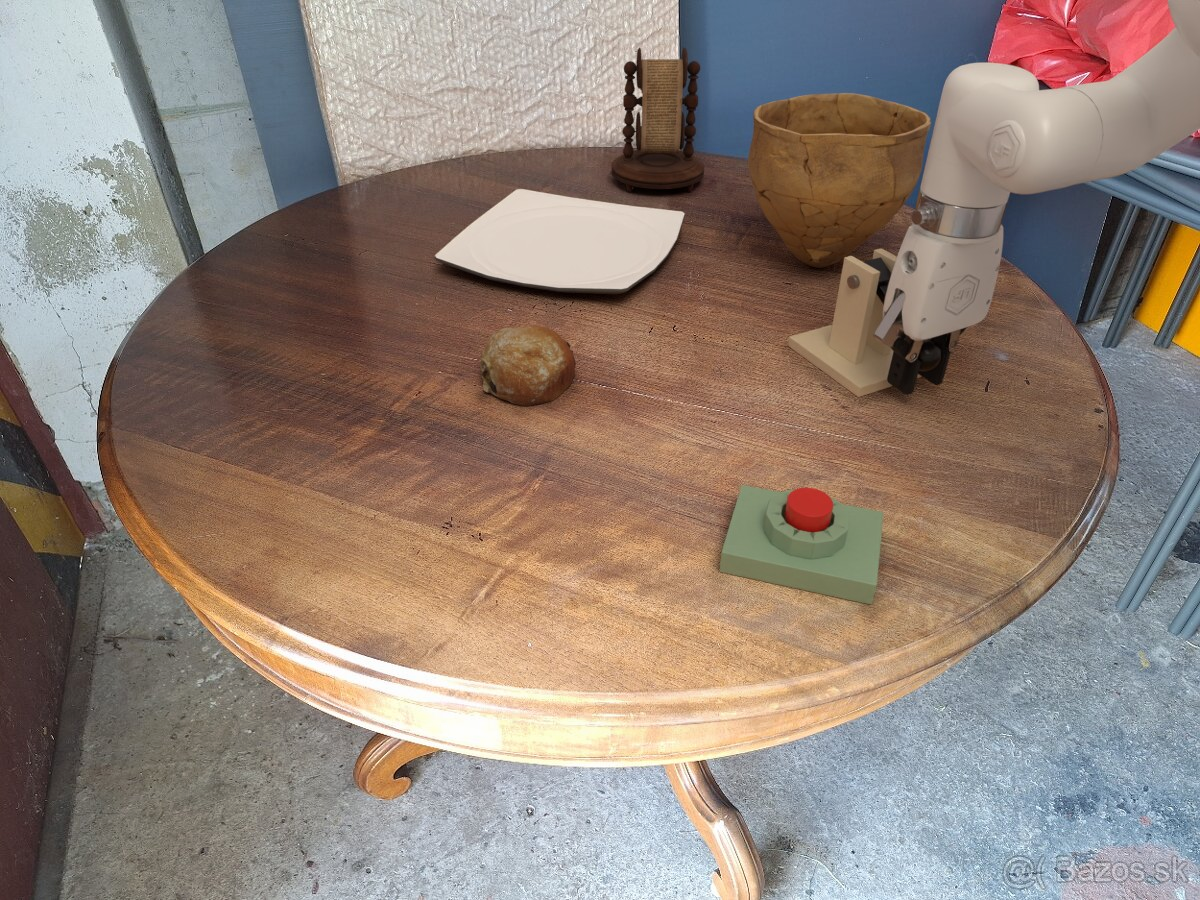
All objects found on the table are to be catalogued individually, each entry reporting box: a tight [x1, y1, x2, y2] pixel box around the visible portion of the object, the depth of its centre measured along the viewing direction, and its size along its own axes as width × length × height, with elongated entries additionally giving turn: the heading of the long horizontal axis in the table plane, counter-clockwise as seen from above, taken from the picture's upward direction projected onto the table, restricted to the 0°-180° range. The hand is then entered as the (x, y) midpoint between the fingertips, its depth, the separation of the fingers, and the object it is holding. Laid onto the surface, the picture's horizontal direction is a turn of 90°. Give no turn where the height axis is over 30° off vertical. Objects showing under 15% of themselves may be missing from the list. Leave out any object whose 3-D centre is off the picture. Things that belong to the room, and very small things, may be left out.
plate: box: [434, 188, 686, 295], centre depth 121 cm, size 29×29×3 cm
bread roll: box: [479, 325, 577, 407], centre depth 94 cm, size 10×10×8 cm
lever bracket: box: [787, 247, 923, 398], centre depth 95 cm, size 12×10×12 cm
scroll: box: [610, 46, 705, 193], centre depth 137 cm, size 15×15×20 cm
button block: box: [718, 484, 885, 606], centre depth 73 cm, size 12×9×4 cm
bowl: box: [747, 92, 932, 269], centre depth 112 cm, size 21×20×20 cm
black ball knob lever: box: [863, 257, 941, 371], centre depth 91 cm, size 13×3×3 cm, turn 27°
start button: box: [785, 487, 833, 533], centre depth 71 cm, size 4×4×2 cm
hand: (914, 381), depth 92 cm, fingers closed on black ball knob lever, 3 cm apart
